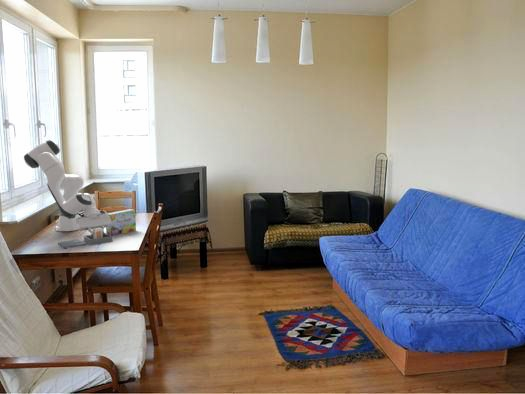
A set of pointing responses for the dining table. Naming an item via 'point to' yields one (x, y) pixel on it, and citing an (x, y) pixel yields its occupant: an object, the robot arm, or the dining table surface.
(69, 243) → the blue-grey board
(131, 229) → the snack box
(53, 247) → the dining table surface
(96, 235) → the cream carton
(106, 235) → the parts bin
